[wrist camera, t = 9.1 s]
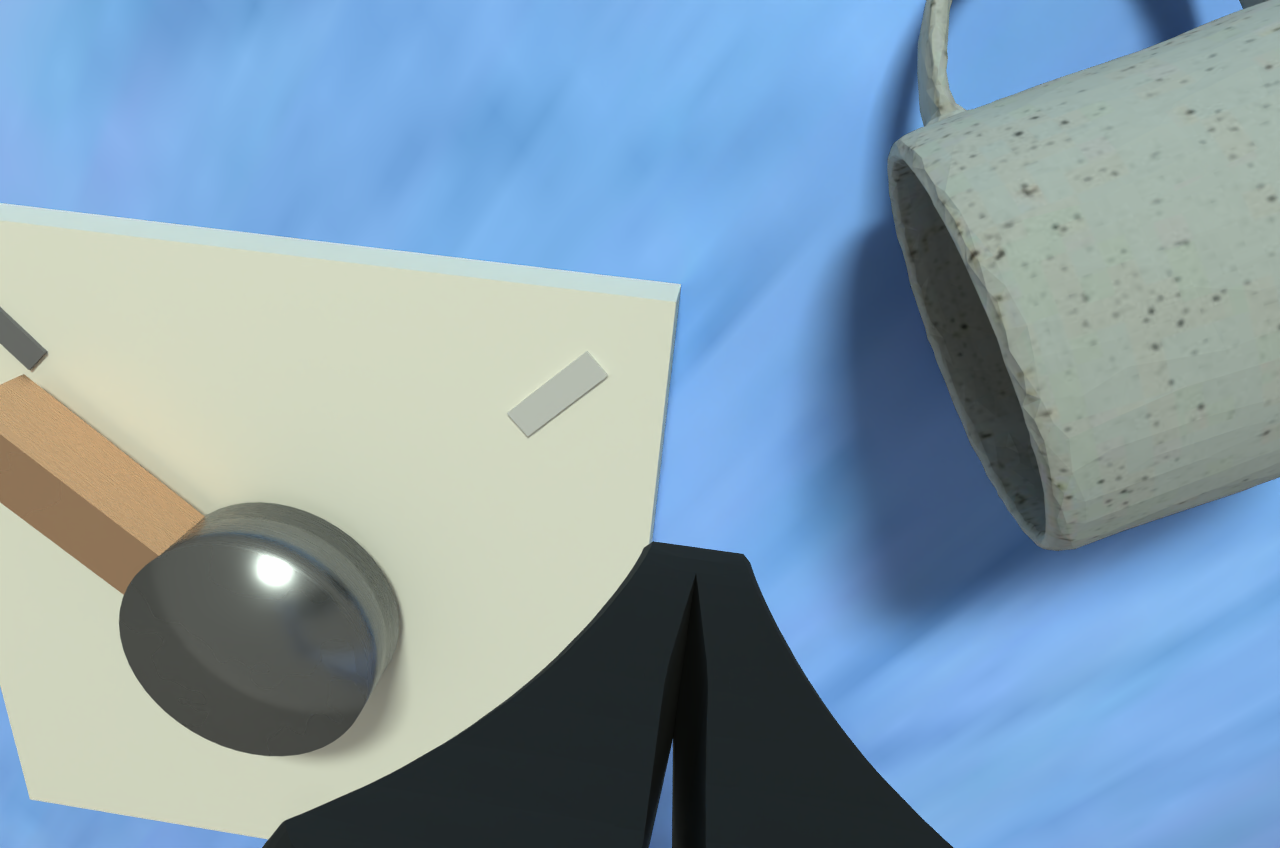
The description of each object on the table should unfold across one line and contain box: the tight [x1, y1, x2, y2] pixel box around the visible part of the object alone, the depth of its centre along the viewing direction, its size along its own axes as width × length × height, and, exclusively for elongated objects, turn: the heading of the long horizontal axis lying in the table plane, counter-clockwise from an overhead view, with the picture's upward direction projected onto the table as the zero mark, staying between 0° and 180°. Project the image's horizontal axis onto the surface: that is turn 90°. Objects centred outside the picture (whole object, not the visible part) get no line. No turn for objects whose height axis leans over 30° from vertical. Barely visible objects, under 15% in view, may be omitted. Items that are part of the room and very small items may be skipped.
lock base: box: [0, 203, 681, 839], centre depth 23 cm, size 18×18×2 cm
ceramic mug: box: [887, 0, 1280, 551], centre depth 14 cm, size 11×8×8 cm
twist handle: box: [0, 374, 399, 756], centre depth 21 cm, size 11×6×2 cm, turn 46°
